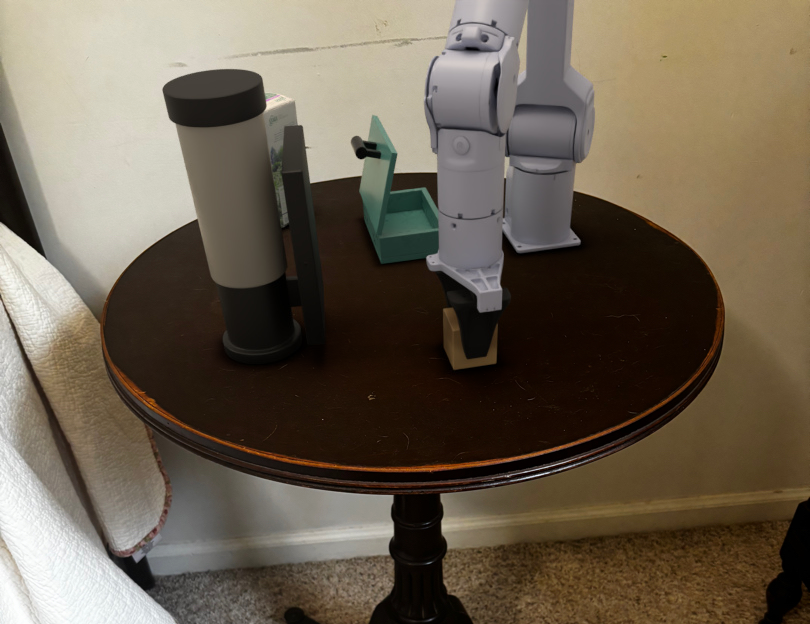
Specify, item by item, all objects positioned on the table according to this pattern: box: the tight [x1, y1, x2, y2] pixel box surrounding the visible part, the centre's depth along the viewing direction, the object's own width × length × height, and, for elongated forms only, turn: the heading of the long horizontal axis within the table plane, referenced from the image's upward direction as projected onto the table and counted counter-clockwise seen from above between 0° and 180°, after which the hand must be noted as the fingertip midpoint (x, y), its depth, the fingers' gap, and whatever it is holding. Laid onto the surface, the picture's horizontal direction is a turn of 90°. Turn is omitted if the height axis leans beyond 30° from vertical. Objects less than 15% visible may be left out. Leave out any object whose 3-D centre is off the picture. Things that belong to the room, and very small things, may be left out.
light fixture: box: [161, 68, 327, 365], centre depth 76 cm, size 12×11×25 cm
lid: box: [350, 114, 398, 235], centre depth 95 cm, size 9×13×4 cm
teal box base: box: [361, 186, 439, 265], centre depth 100 cm, size 8×13×3 cm, turn 11°
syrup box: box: [263, 91, 299, 229], centre depth 102 cm, size 6×6×14 cm
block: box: [442, 307, 499, 371], centre depth 79 cm, size 4×4×4 cm
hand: (469, 343), depth 80 cm, fingers closed on block, 4 cm apart
